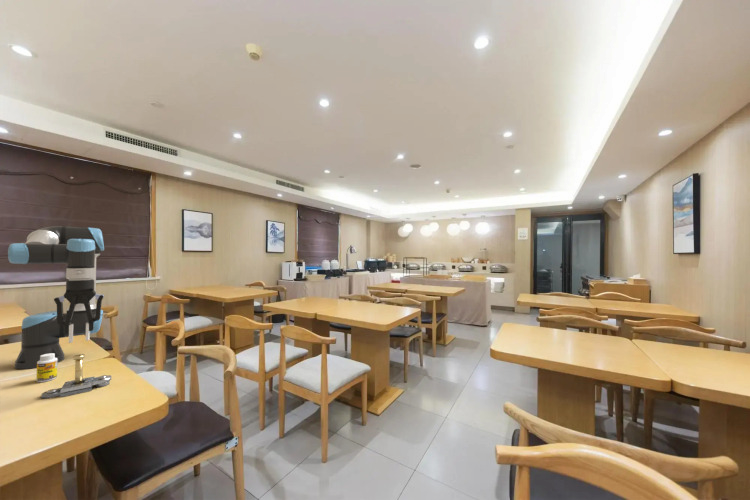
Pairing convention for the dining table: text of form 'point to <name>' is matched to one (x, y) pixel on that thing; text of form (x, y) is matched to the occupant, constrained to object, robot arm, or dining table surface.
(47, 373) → the supplement bottle
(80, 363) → the pin
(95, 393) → the dining table surface
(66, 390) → the grey metal link plate
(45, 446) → the dining table surface
